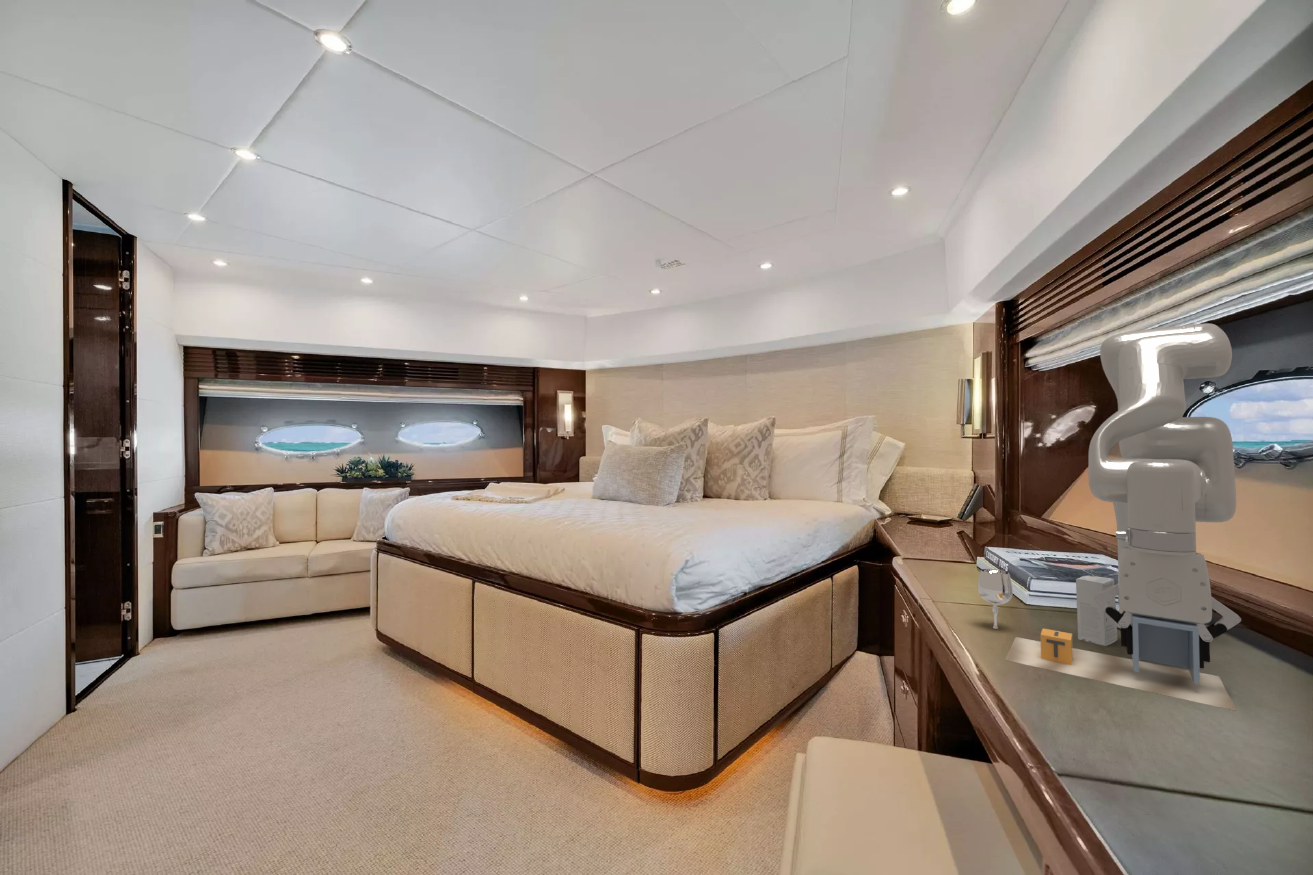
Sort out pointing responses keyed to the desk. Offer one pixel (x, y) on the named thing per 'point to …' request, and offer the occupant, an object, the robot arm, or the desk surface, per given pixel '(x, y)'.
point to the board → (1127, 674)
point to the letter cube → (1056, 646)
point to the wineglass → (995, 588)
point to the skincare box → (1094, 611)
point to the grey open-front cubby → (1166, 643)
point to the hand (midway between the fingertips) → (1163, 657)
